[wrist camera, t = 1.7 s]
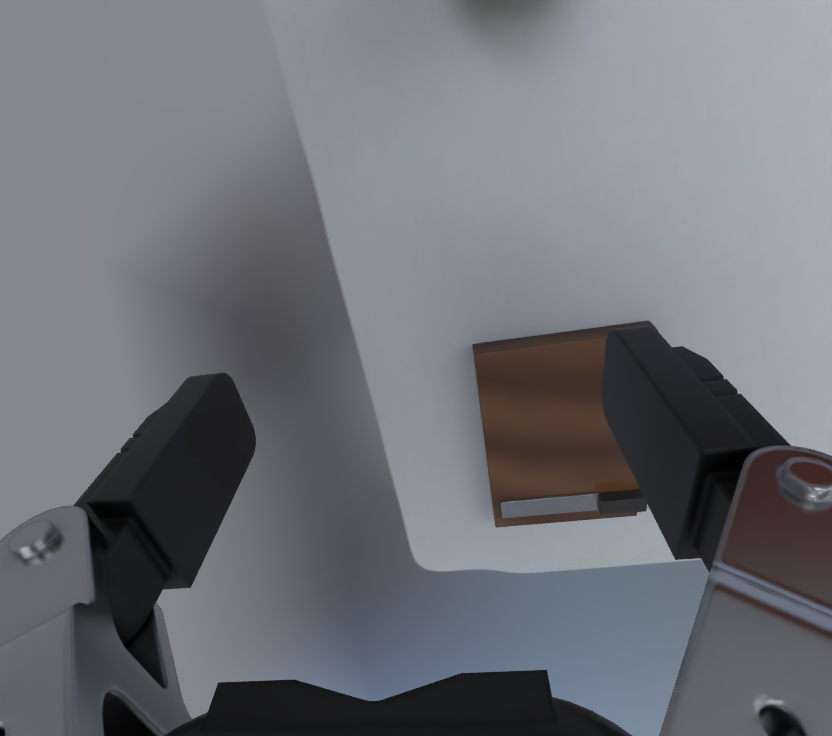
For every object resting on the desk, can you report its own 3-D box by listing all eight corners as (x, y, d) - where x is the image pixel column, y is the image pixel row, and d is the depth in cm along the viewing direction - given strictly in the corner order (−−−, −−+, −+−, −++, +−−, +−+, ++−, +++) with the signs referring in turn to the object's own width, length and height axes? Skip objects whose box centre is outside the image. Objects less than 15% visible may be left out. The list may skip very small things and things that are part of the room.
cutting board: (472, 344, 33) (473, 354, 31) (649, 320, 31) (658, 330, 30) (493, 514, 42) (495, 527, 41) (630, 502, 41) (636, 515, 39)
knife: (501, 515, 40) (503, 525, 39) (500, 500, 39) (501, 509, 38) (641, 503, 38) (646, 513, 38) (643, 486, 37) (648, 496, 37)
